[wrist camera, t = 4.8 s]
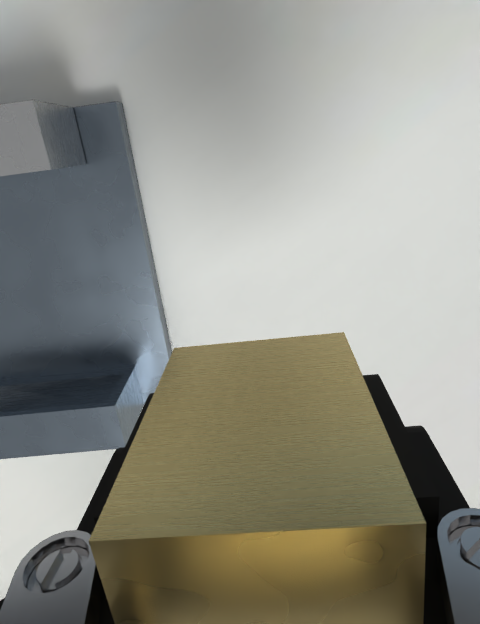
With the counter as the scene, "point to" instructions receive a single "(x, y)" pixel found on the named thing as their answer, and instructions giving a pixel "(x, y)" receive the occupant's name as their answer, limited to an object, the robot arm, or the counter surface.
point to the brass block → (262, 496)
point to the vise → (78, 299)
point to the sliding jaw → (38, 137)
